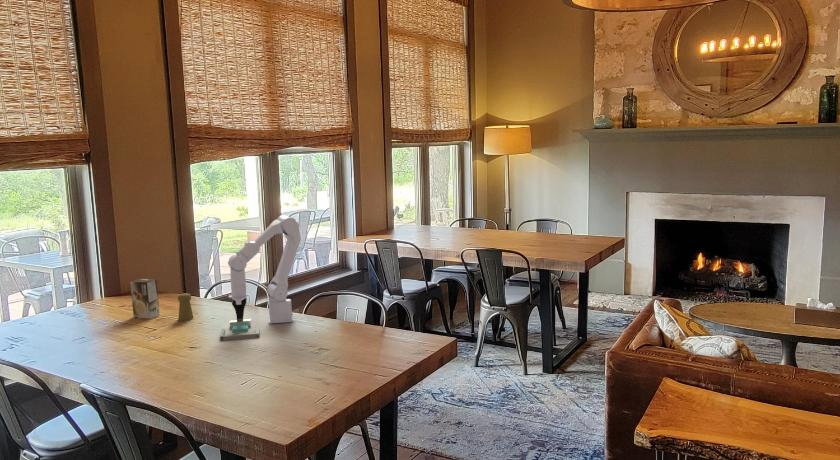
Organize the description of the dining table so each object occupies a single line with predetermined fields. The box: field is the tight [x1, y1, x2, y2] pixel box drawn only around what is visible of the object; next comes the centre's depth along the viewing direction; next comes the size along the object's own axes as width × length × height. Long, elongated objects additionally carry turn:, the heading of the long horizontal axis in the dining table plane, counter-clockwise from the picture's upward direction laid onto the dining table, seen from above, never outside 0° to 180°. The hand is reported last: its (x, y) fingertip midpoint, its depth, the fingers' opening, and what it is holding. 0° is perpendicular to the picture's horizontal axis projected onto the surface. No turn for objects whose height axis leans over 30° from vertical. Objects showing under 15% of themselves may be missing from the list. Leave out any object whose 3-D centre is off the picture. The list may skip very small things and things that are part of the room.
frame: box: [219, 325, 260, 342], centre depth 247 cm, size 14×10×2 cm
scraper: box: [229, 314, 252, 329], centre depth 257 cm, size 8×2×8 cm, turn 104°
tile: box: [231, 324, 249, 333], centre depth 254 cm, size 6×6×2 cm
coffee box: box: [130, 278, 160, 320], centre depth 273 cm, size 9×6×16 cm
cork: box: [177, 292, 194, 322], centre depth 268 cm, size 6×6×11 cm
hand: (240, 317), depth 257 cm, fingers closed on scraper, 2 cm apart
